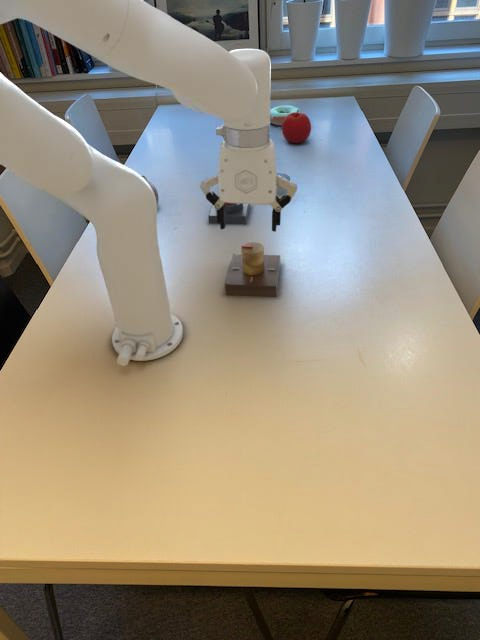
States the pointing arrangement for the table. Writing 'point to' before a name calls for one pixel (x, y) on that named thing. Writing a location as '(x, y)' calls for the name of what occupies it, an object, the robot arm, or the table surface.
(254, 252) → the knob
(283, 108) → the donut
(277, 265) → the panel
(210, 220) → the button block
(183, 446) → the table surface
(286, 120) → the apple
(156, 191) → the vase
